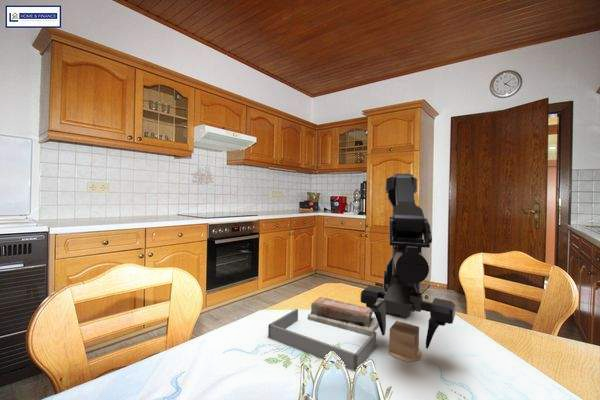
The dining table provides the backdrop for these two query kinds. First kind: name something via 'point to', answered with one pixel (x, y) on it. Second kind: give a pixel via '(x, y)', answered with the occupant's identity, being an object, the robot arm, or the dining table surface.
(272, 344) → the dining table surface
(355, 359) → the bin
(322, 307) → the packaged product
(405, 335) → the block
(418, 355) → the coaster
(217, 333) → the dining table surface
